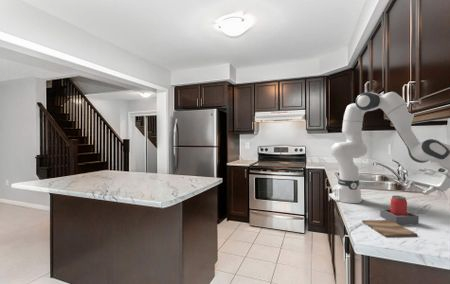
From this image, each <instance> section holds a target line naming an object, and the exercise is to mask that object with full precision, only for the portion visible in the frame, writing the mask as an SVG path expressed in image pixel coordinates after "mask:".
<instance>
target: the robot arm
mask: <svg viewBox="0 0 450 284" xmlns="http://www.w3.org/2000/svg"><path fill="white" fill-rule="evenodd" d="M405 101H406V100H405V99H404V98H403V97H402V96H400V94H398V93H397V92H395V91H390V92H386V93H384V94H382V95H381V94H379V93H376V92H369V91H368V92H367V91H366V92H365V91H364V92H362V93H360V94H359V95H357V97H356V98H355V103H354V102H353V103H350V104H348V105H347V106H346V108H345V111H344V113H343V118H342V119H343V120H342V125H341V126H342V128H341V133H342V134H343V136H345V139H346V140H345V141H340V142H336V143H334V144H332V145H331V147H330V154H331V155H332V156H333V158H335V160H336V162H337V164H338V165H337V166H338V170H339V171H338V172H339V178H338V179H337V184H336V185H334V186H333V187H332V189H331V193H328V196H330V198H331V199H332V200H333V201H336V202H341V203H346V204H359V203H360V204H361V202H362V201H364V199H363V198H362V193H361V192H362V189H361V187H360V180H359V168H358V166H357V165H356V164H355V162H354V159H358V158H361V157H364V156H366V154H367V152H368V147H367V145H366V144H365V143H364V140H363V137H362V130H363V122H364V115H365V114H366V113H368V112H373V111H376V110H379V109H380V110H382V111H383V113H384V114H385V115H386V117H388V119H389V120H390V122H391V123H392V125H393V127H394V129H395V131H396V132H397V134H398V136H399V137H400V139H401V140H402V142H403V143H404V145H405V147H406V148H407V151H408V155H409V158H410V159H411V160H412V161H414V162H416V163H420V164H425V163H427V162H429V161H430V162H429V163H428V164H427V165H426V166H425V167H424V169H416V170H414V171H412V172H411V173H410V174H408V176H406V178H405V180H406V181H407V183H408V186H406V189H407V190H408V191H412V190H413V189H414V187H413V186H419V187H422V188H423V187H424V188H427V189H424V190H423V191H422V194H423V195H426V196H429V194H431V193H434V192H436V191H438V192H447V191H448V190H449V189H450V144H447V143H443V142H441V141H439V140H437V139H435V138H434V139H433V138H429V139H426V140H424V141H419V139H418V138H417V136H416V135H415V133H414V131H413V130H412V123H413V120H414V117H415V114H414V115H412V114H411V113H409V112H408V109H407V105H406V102H407V101H406V102H405Z"/></svg>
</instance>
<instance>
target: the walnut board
mask: <svg viewBox="0 0 450 284" xmlns="http://www.w3.org/2000/svg"><path fill="white" fill-rule="evenodd" d="M361 222H363V224H364V225H365V224H366V226H367V225H368V226H367V227H369V228H370V227H371V228H370V229H372V230H373V229H374V231H375V232H377V233H378V234H380V235H381V236H383V237H385V238H391V237H392V238H395V237H396V238H397V237H398V238H400V237H402V238H403V237H418V233H416V232H415V231H412V230H411V229H408V228H406V227H405V226H403V225H399V224H397V223H395V222H393V221H391V220H386V219H377V220H376V219H374V220H373V219H372V220H371V219H369V220H366V219H365V220H361Z"/></svg>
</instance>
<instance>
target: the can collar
mask: <svg viewBox="0 0 450 284" xmlns="http://www.w3.org/2000/svg"><path fill="white" fill-rule="evenodd" d="M379 210H380V211H379V212H380V214H379V215H380V217H381V218H382V219H383V220H391V221H393V222H395V223H397V224H399V225H401V226H403V225H405V224H413V225H419V224H420V222H419V218H420V217H419V215H416V214H414V213H412V212H409V211H407V216H396V215H394V214H392V213H391V208H380V209H379ZM405 226H406V225H405Z"/></svg>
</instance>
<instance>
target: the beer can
mask: <svg viewBox="0 0 450 284" xmlns="http://www.w3.org/2000/svg"><path fill="white" fill-rule="evenodd" d="M390 209H391V213H392V214H394V215H396V216H407V212H408V201H407V198H406V197H405V196H402V195H391V198H390Z"/></svg>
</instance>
